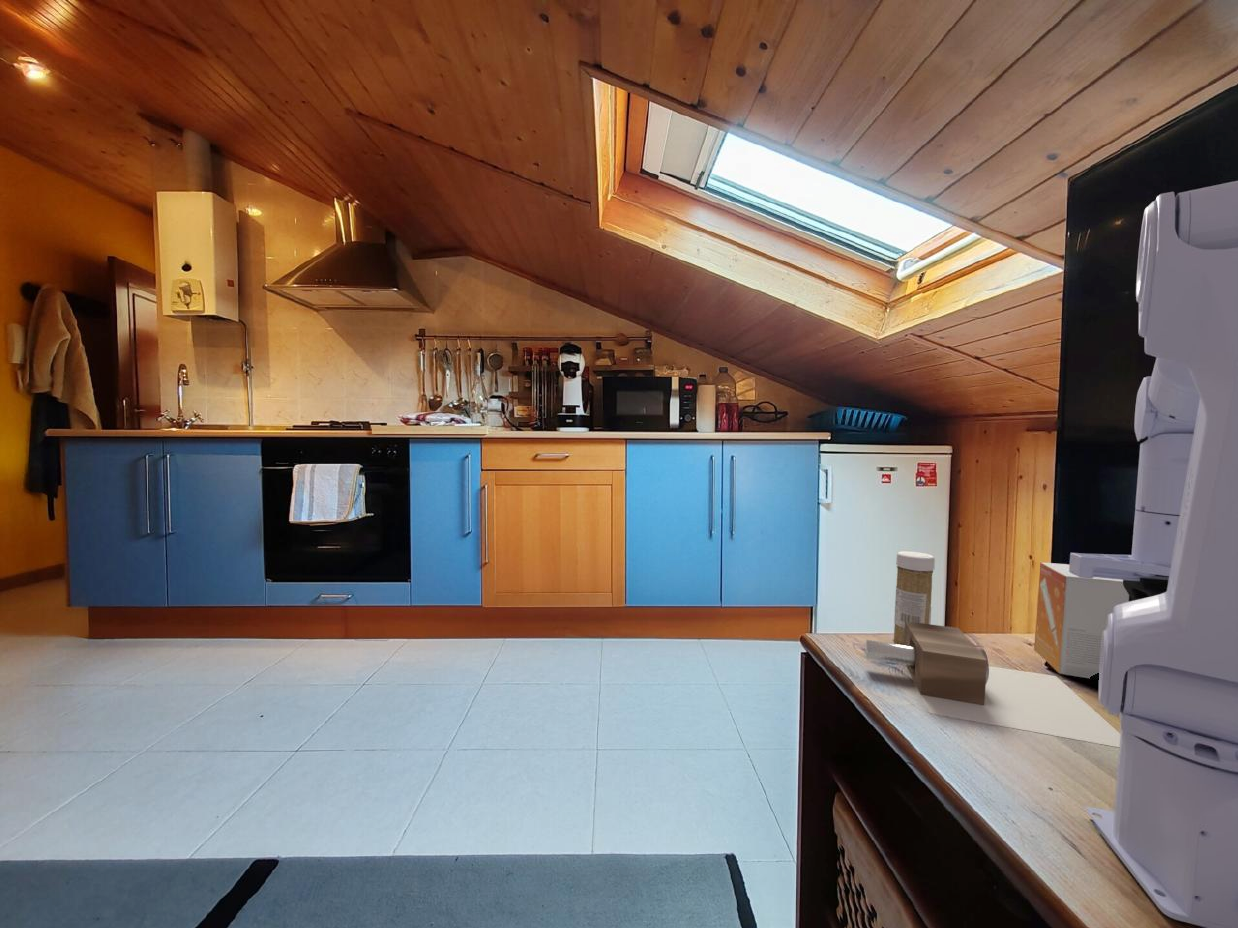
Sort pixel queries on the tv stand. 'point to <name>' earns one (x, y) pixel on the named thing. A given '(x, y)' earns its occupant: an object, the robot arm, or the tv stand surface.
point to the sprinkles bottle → (912, 591)
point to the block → (946, 663)
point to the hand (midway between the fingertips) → (1168, 664)
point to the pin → (899, 653)
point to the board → (1030, 707)
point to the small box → (1073, 618)
